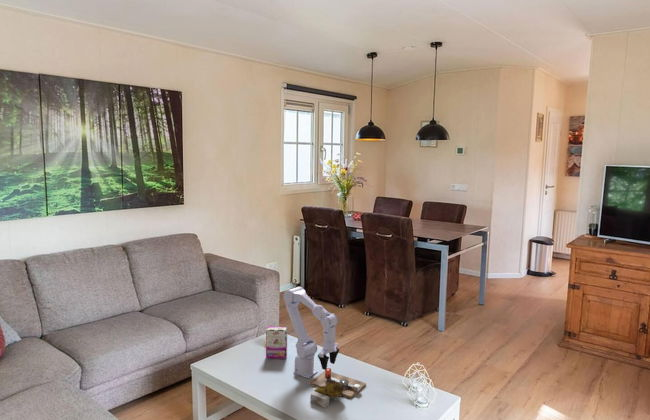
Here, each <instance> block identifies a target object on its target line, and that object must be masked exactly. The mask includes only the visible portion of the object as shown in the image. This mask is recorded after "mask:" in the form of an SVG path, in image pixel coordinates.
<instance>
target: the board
mask: <svg viewBox="0 0 650 420" xmlns="http://www.w3.org/2000/svg"><path fill="white" fill-rule="evenodd" d="M331 377H332V378H335V379H338V380H342V379H346V380H348V381H349V383H350V384H353V385H355V384H358V385H361V388H360V390H359V391H358V392H357V391H354V390H352V389H349V388H343V392H342V394H341V396H342V397H345V398H346V399H350V400H351V399H353V397H354V396H356V395H357V394H359V392H361V391H362V390H363V389H364V388H365V387H366V386H367V383H366V382H363V381H361V380H357V379H355V378H351V377H349V376H345V375H342V374H340V373H335V372H333V371H331ZM330 383H331V382H328V381H327V379H326V378H325V370H324V371H323V372H321V373H320V374H318V375H317V376H316V377H314V378H313V379H311V380H310V381H309V383H308V384H309V385H310V386H313V387H315V388H319V387H322V386H326V385H328V384H330ZM309 399H310V404H314V405H317V406H319V407H322V408H324V409H327V407H329V406H330V398H329V396H326V395H323V394H320V393H318V392H315V390H314V391H313V392H311V393H310V398H309Z"/></svg>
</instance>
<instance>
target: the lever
mask: <svg viewBox="0 0 650 420" xmlns="http://www.w3.org/2000/svg"><path fill="white" fill-rule="evenodd" d="M324 371H325V378H326V379H327V381H328V382H331V383H334V382H338V383H340V384H341V385H342V386H343V388H349V389H352V390H354V391H357V392H358V391H359V390H360V388H361V385H358V384H355V385H353V384H350V383H349V381H348V380H346V379H342V380H338V379H335V378H332V377H331V372H332V368H329V367H327V369H326V370H324ZM360 391H361V390H360ZM360 391H359V392H360ZM359 392H358V393H359Z"/></svg>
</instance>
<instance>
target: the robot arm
mask: <svg viewBox="0 0 650 420" xmlns="http://www.w3.org/2000/svg"><path fill="white" fill-rule="evenodd" d="M282 298H283V301H284V303H285V308H286V311H287V314H288V316H289V319H290V321H291V322H290V323H291V324H292V326H293V330H294V332H295V333H294V334H295V335H296V338H297V341H296V344H295V348H296V356H295V357H294V368H293V369H294V370H293V374H295V375H298V376H301V377H304V378H306V379H310V378H311V377H312V376H314V375H315V374H317V373H318V371H317V370H316V369H314V368H315V367H314V366H315V355H316V353H317V352H318V345H317V344H316V342H315V340H314V339H313V338H312V337H311V336H309V334H308V331H307V329H306V327H305V324H304V322H303V319H302V316H301V314H300V311H299V308H298V306H299V305H300V303H302V304H303V305H305V306H306V307H307V308H309V310H311V313H312V315H313V316H315V318H316V319H317V320H318V321H320V324H321V326H322V330H323V339H322V341H323V342H322V347H321V350H320V352H319V353H318V355H317V358H318V360H319V362H320V365H321V369H322V370H324V371H325V370H326V369H327V368H328V361H329V363H330V364H333V365H334V364H335V362H336V360H337V357H338V354H339V352H340V348H339V343H337V342H336V326H337V325H338V323H339V318H338V316H337V315H336V314H335V313H331V312H330V311H327V310H326V308H324V306H323V305H322V304H316V302H315V301H313V299H311V297H310V296H308V295H307V292H306V290H305V289H304V288H303V287H302V286H297V287H294V288H290V289H287V290H284V292H283V295H282ZM327 354H329V356H327Z"/></svg>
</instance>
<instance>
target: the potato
mask: <svg viewBox="0 0 650 420" xmlns="http://www.w3.org/2000/svg"><path fill="white" fill-rule="evenodd" d="M314 391H315V392H318V393H320V394H323V395H326V396H329V399H333V398H341V394H342V392H343V386H342V385H341V384H340V383H338V382H334V383H330V384H328V385H326V386H322V387H319V388H318V387H316V388H315V389H314Z"/></svg>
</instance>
